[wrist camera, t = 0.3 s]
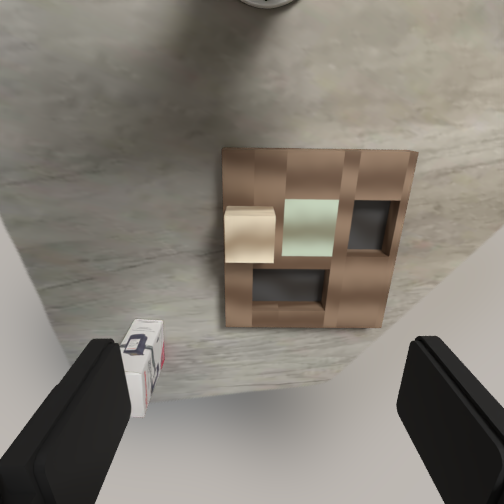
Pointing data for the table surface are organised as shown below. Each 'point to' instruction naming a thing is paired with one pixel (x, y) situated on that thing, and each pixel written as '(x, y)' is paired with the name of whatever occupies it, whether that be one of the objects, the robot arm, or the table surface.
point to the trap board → (318, 234)
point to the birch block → (249, 234)
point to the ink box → (142, 361)
